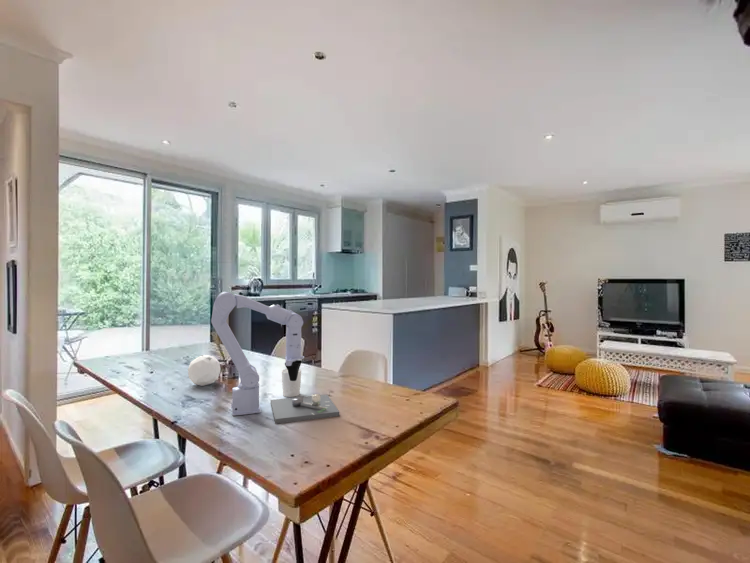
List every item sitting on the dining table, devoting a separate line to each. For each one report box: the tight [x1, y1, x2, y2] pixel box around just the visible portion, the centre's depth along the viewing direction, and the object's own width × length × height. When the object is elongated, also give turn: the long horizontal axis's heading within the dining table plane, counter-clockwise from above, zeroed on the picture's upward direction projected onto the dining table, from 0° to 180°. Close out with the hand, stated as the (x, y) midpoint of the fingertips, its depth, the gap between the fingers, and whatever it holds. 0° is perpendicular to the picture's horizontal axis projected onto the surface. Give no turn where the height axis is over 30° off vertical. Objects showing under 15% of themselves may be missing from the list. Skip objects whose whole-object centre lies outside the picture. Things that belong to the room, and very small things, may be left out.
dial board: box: [269, 394, 340, 424], centre depth 137 cm, size 22×20×2 cm
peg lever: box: [292, 393, 327, 410], centre depth 135 cm, size 14×4×4 cm, turn 65°
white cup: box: [281, 368, 302, 398], centre depth 154 cm, size 8×8×10 cm
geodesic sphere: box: [187, 354, 221, 387], centre depth 167 cm, size 14×14×14 cm
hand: (293, 380), depth 142 cm, fingers closed
